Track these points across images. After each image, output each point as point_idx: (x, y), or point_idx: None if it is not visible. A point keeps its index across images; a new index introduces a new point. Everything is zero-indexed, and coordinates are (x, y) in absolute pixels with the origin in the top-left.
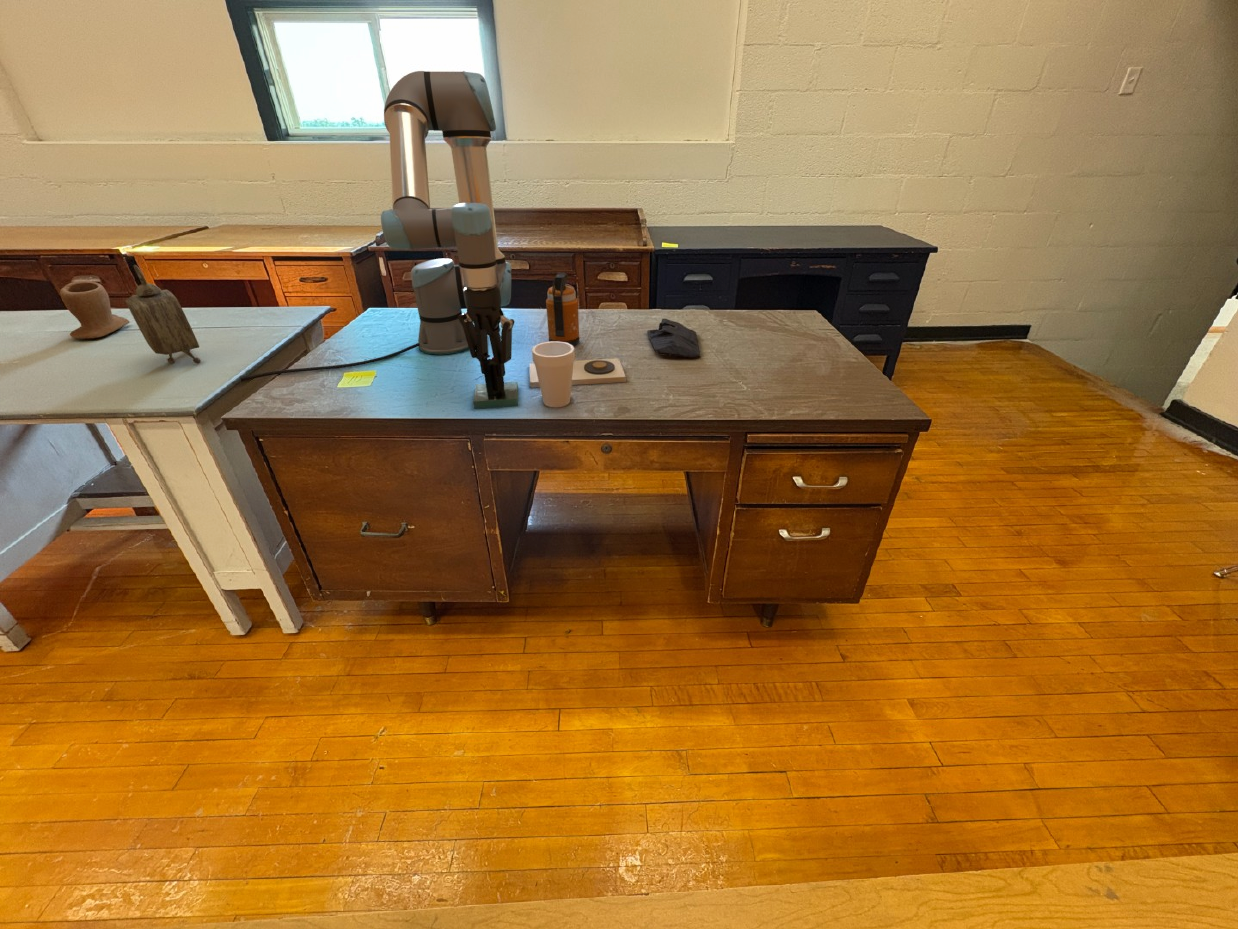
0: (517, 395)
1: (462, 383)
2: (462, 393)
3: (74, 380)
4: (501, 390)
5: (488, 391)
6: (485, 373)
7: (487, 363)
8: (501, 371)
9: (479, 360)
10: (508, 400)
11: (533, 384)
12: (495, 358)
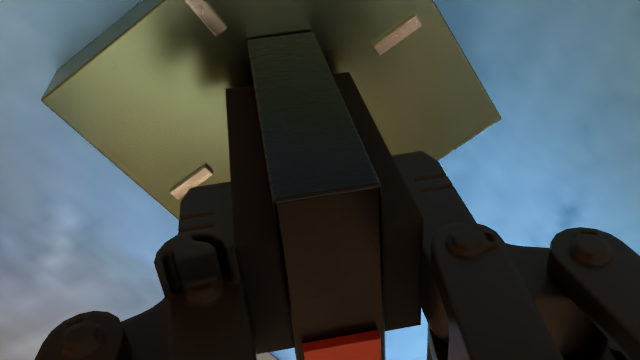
0: (106, 150)
1: (630, 134)
2: (565, 23)
3: None
4: None
5: (300, 44)
6: (335, 126)
7: (344, 233)
8: (183, 231)
9: (472, 229)
10: (95, 49)
11: None
12: (219, 329)
